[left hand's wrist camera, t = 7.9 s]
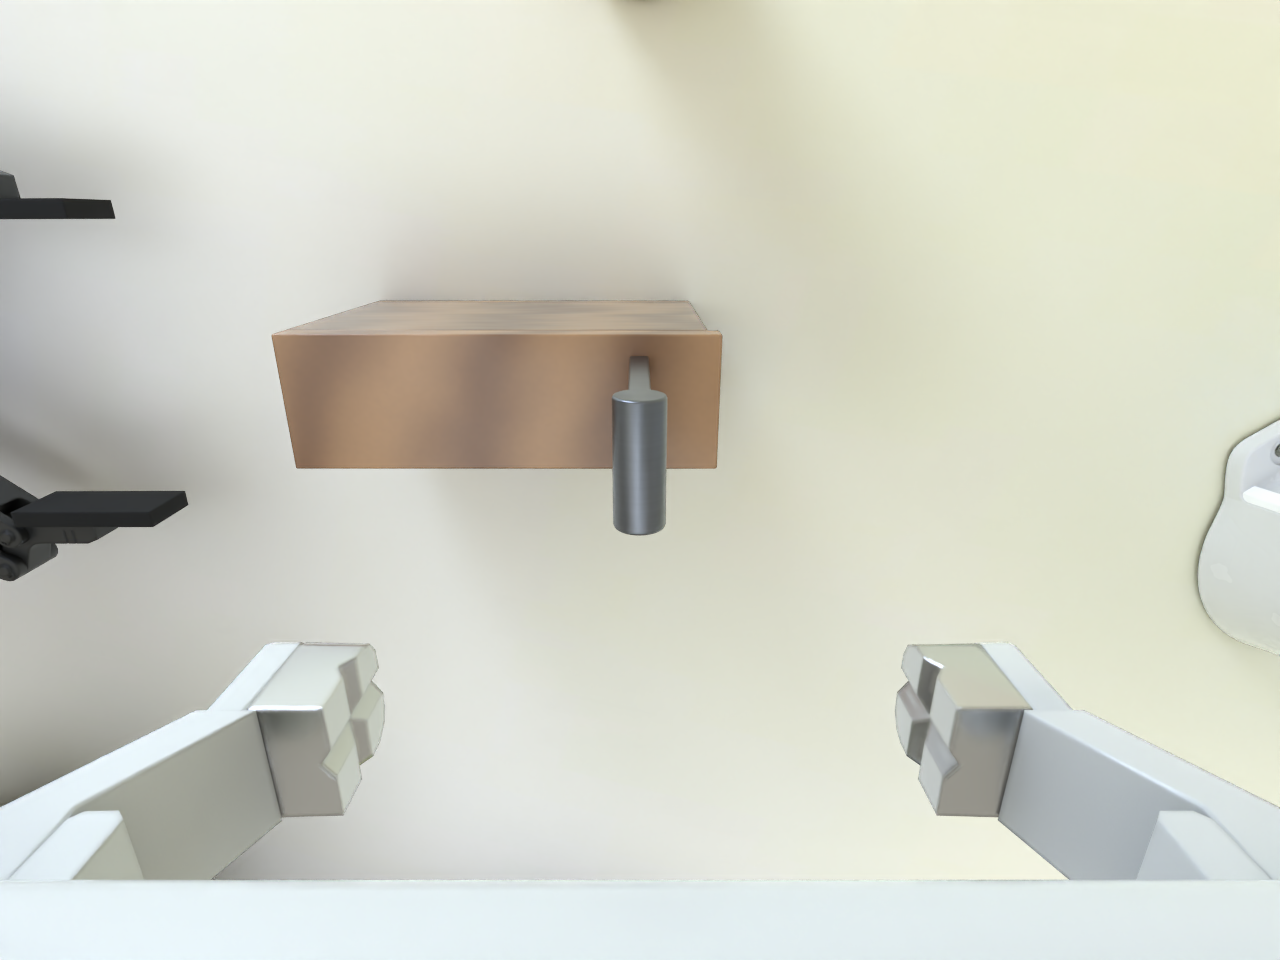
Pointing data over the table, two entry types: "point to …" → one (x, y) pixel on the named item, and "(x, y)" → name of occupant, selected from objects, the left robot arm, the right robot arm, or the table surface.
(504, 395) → the lid
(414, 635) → the table surface
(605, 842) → the table surface
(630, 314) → the chest
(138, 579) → the table surface
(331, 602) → the table surface
